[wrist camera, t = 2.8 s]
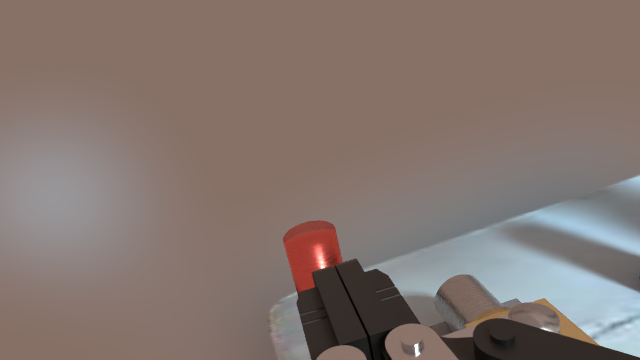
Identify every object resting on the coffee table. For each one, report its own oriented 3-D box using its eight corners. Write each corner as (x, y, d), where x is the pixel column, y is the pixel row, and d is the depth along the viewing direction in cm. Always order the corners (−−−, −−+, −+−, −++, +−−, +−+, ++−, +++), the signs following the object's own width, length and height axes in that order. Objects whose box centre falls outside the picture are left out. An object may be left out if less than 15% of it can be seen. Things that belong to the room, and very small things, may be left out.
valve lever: (538, 307, 28) (536, 155, 24) (570, 336, 26) (573, 171, 22) (321, 380, 26) (279, 228, 22) (332, 418, 24) (287, 255, 20)
